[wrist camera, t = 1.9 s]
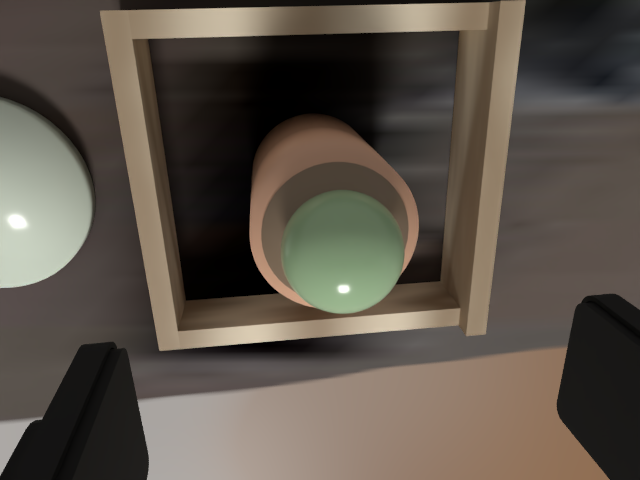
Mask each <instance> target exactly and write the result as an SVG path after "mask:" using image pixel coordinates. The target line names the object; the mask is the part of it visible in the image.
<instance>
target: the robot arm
mask: <svg viewBox="0 0 640 480" xmlns="http://www.w3.org/2000/svg"><path fill="white" fill-rule="evenodd" d="M557 411H558V414H559V417H560V419H561V420H562V422H563V423H564V424H565V425H566V427H567V428H568V429H569V430H570V431H571V433H572V434H573V435H574V436H575V438H576V439H577V440H578V441H579V442H580V444H581V445H582V446H583V447H584V449H585V450H586V451H587V452H588V453H589V455H590V456H591V457H592V458H593V459H594V461H595V462H596V463H597V464H598V466H599V467H600V468H601V469H602V470H603V471H604V473H605V474H606V475H607V477H608V478H609V479H610V480H640V310H639V309H637V308H636V307H635V306H633V305H632V304H630V303H629V302H627V301H626V300H625V299H623V298H622V297H620V296H619V295H616V294H603V295H592V296H587V297H585V298H584V299H583V300H582V303H580V304H578V305H577V307H576V309H575V313H574V318H573V323H572V328H571V333H570V338H569V343H568V348H567V353H566V358H565V364H564V369H563V374H562V379H561V384H560V389H559V394H558V399H557ZM148 467H149V457H148V450H147V446H146V441H145V436H144V431H143V426H142V422H141V416H140V411H139V407H138V402H137V397H136V392H135V387H134V382H133V377H132V372H131V368H130V363H129V358H128V354H127V351H126V349H125V348H121V349H117V346H116V344H115V343H114V342H105V343H94V344H84V345H81V347H80V348H79V350H78V351H77V353H76V355H75V357H74V359H73V361H72V363H71V365H70V367H69V369H68V371H67V373H66V375H65V376H64V378H63V380H62V382H61V384H60V386H59V388H58V390H57V392H56V394H55V396H54V398H53V400H52V401H51V403H50V405H49V407H48V409H47V411H46V413H45V415H44V417H43V419H42V420H35V421H34V422H32V423H30V425H29V426H28V427H27V429H26V430H25V432H24V434H23V436H22V437H21V439H20V441H19V443H18V445H17V447H16V448H15V450H14V452H13V454H12V456H11V457H10V459H9V461H8V463H7V465H6V467H5V469H4V470H3V472H2V474H1V476H0V480H147V475H148Z"/></svg>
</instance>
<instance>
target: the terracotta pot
mask: <svg viewBox="0 0 640 480" xmlns="http://www.w3.org/2000/svg"><path fill="white" fill-rule="evenodd" d="M418 231H419V218H418V212H417V207H416V204H415V200H414V198H413V195H412V193H411V191H410V189H409V188H408V186H407V185H406V183H405V181H404V180H403V179H402V178H401V177H400V176H399V174H398V173H397V172H396V171H395V170H394V169H393V168H392V167H391V166H390V165H389V164H388V163H387V162H386V161H385V160H384V159H383V158H382V157H381V156H380V155H379V154H378V153H377V152H376V151H375V150H374V149H373V148H372V147H371V146H370V145H369V144H368V143H367V142H366V141H365V140H364V139H363V138H362V137H361V136H360V135H359V134H358V133H357V132H356V131H355V130H354V129H353V128H352V127H350V126H349V125H348V124H346V123H345V122H343V121H341V120H339V119H337V118H335V117H332V116H328V115H323V114H303V115H299V116H295V117H292V118H289V119H287V120H285V121H283V122H282V123H280V124H278V125H277V126H276V127H274V128H273V129H272V130H271V131H270V132H269V133H268V134H267V135H266V136H265V138H264V139H263V140H262V142H261V144H260V145H259V147H258V149H257V152H256V154H255V157H254V161H253V167H252V183H251V208H250V245H251V251H252V254H253V257H254V260H255V262H256V265H257V267H258V269H259V271H260V272H261V274H262V275H263V277H264V278H265V279H266V280H267V282H268V283H269V284H270V285H271V286H272V287H273V288H274V289H275V290H277V291H278V292H279V293H281V294H282V295H284V296H285V297H287V298H288V299H290V300H292V301H294V302H297V303H299V304H302V305H305V306H309V307H314V308H317V309H320V310H323V311H326V312H330V313H337V314H349V313H355V312H359V311H363V310H365V309H368V308H370V307H372V306H374V305H375V304H377V303H378V302H380V301H381V300H382V299H383V298H385V297H386V296H387V295H388V294H389V292H390V291H391V290H392V289H393V287H394V286H395V284H396V282H397V281H398V279H399V277H400V275H401V274H402V272H403V271H404V270H405V268H406V267H407V265H408V263H409V261H410V260H411V257H412V255H413V252H414V250H415V247H416V243H417V239H418Z"/></svg>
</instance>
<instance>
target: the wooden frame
mask: <svg viewBox="0 0 640 480" xmlns="http://www.w3.org/2000/svg"><path fill="white" fill-rule="evenodd" d="M525 2H526V0H523V1H497V2H485V3H439V4H392V5H346V6H300V7H253V8H207V9H161V10H115V11H100V15H101V21H102V26H103V32H104V38H105V44H106V49H107V55H108V61H109V66H110V72H111V78H112V83H113V89H114V95H115V100H116V106H117V112H118V118H119V123H120V129H121V135H122V140H123V146H124V152H125V157H126V163H127V169H128V174H129V180H130V186H131V191H132V197H133V203H134V209H135V214H136V220H137V226H138V231H139V237H140V243H141V248H142V254H143V260H144V265H145V271H146V277H147V282H148V288H149V294H150V300H151V305H152V311H153V317H154V322H155V328H156V334H157V339H158V345H159V351H163V350H175V349H186V348H198V347H210V346H221V345H233V344H245V343H256V342H268V341H280V340H291V339H303V338H315V337H326V336H338V335H350V334H361V333H373V332H385V331H396V330H408V329H420V328H431V327H443V326H454V325H459V326H460V328H461V329H462V331H463V332H464V334H465V335H466V336H471V335H483V334H486V326H487V318H488V309H489V301H490V293H491V285H492V276H493V268H494V260H495V251H496V243H497V235H498V226H499V218H500V210H501V202H502V193H503V185H504V177H505V168H506V160H507V152H508V143H509V135H510V127H511V119H512V110H513V102H514V94H515V85H516V77H517V69H518V60H519V52H520V44H521V36H522V27H523V19H524V11H525ZM454 30H460V31H459V44H458V57H457V70H456V83H455V97H454V110H453V123H452V136H451V149H450V162H449V175H448V188H447V201H446V215H445V228H444V241H443V254H442V267H441V280H440V281H436V282H423V283H410V284H397V285H395V286H394V287H393V289H392V290H391V291H390V292H389V294H388V295H387V296H386V297H385V298H383V299H382V300H381V301H380V302H378V303H377V304H375V305H374V306H372V307H370V308H368V309H365V310H363V311H359V312H355V313H349V314H337V313H330V312H326V311H323V310H320V309H317V308H314V307H309V306H305V305H302V304H299V303H297V302H294V301H292V300H290V299H288V298H287V297H285V296H284V295H282V294H281V293H280V294H267V295H254V296H241V297H228V298H215V299H202V300H189V301H186V297H185V291H184V284H183V277H182V270H181V263H180V256H179V249H178V242H177V235H176V228H175V222H174V215H173V208H172V201H171V194H170V187H169V180H168V173H167V166H166V159H165V153H164V146H163V139H162V132H161V125H160V118H159V111H158V104H157V97H156V90H155V84H154V77H153V70H152V63H151V56H150V49H149V42H148V39H158V38H195V37H232V36H269V35H306V34H343V33H380V32H417V31H454Z"/></svg>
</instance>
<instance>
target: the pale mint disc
mask: <svg viewBox="0 0 640 480" xmlns="http://www.w3.org/2000/svg"><path fill="white" fill-rule="evenodd" d="M94 216H95V191H94V186H93V182H92V178H91V175H90V173H89V170H88V168H87V165H86V163H85V161H84V160H83V158H82V156H81V154H80V153H79V151H78V150H77V148H76V147H75V146H74V144H73V143H72V142H71V140H70V139H69V138H68V137H67V136H66V135H65V134H64V133H63V132H62V131H61V130H60V129H59V128H58V127H56V126H55V125H54V124H53V123H52V122H51V121H49V120H48V119H46V118H45V117H43V116H42V115H41V114H39V113H38V112H36V111H34V110H32V109H30V108H28V107H26V106H24V105H22V104H20V103H17V102H15V101H12V100H9V99H6V98H2V97H0V288H11V287H18V286H24V285H28V284H32V283H36V282H38V281H41V280H43V279H46V278H47V277H49V276H51V275H53V274H55V273H56V272H58V271H59V270H60V269H62V268H63V267H64V266H65V265H66V264H67V263H68V262H69V261H70V260H71V259H72V258H73V257H74V256H75V254H76V253H77V252H78V251H79V249H80V248H81V247H82V245H83V244H84V243H85V241H86V239H87V237H88V235H89V233H90V231H91V228H92V225H93V222H94Z"/></svg>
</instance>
